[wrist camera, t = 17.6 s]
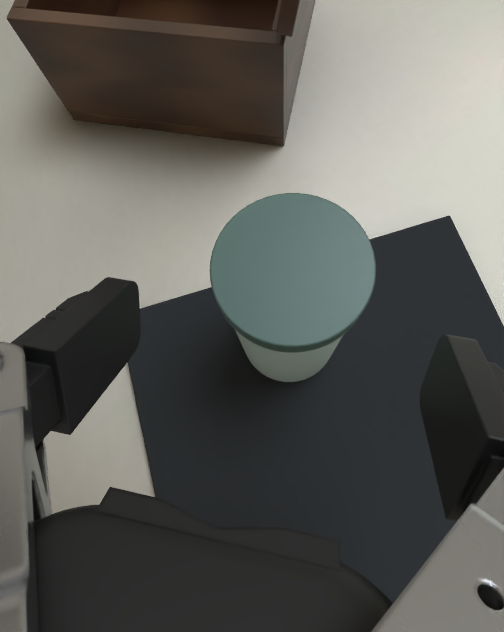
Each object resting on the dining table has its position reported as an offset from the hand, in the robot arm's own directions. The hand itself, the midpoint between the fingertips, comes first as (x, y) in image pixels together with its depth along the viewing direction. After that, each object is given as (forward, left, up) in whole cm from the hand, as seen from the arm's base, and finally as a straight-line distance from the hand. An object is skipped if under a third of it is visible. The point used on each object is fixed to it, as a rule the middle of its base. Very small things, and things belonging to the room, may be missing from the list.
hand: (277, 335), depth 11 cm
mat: (+2, -3, -12) cm, 13 cm away
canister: (+1, +2, -12) cm, 12 cm away
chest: (+1, +24, -12) cm, 26 cm away
